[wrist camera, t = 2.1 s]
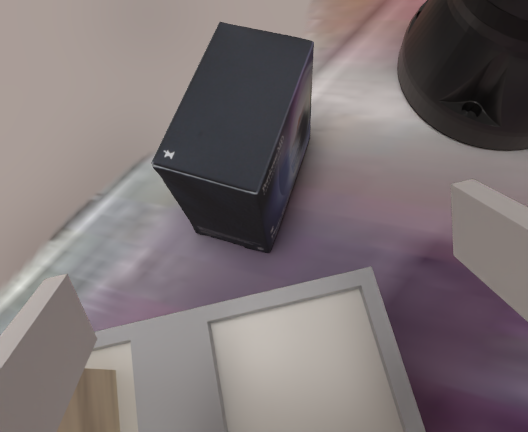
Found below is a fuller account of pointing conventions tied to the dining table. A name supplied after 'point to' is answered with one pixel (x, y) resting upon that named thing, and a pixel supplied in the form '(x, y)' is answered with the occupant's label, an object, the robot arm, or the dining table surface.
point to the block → (93, 404)
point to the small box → (240, 135)
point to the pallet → (265, 364)
